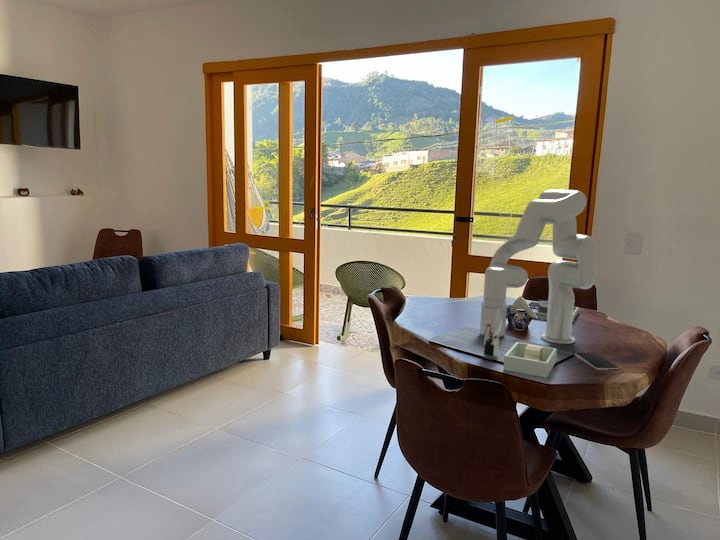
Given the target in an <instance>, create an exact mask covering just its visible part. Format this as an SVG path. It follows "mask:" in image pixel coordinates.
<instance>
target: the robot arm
mask: <svg viewBox="0 0 720 540" xmlns="http://www.w3.org/2000/svg"><path fill="white" fill-rule="evenodd" d="M538 198H539V199H533V200H531V201H529V202H528V203H527V205H526V207H525V209H524V212H523V214H522V217H521V218H520V221H519V224H518V226H517V228H516V231H515V233H514V235H512V237H511V238H509V239H508V240H506V241H505V242H504V243H503V244H502V245H501V246H500V247H498V248H497V250H495V252H494V254H493V256H492V258H491V261H490V264H489V266H488V267H487V268H485V272H484V281H483V282H484V285H483V286H484V287H483V299H482V302H483V307H485V308H484V313H483V319H482V328H481V332H480V335H481V336H484V334H485V333H486V334H485V336H484V338H485V344H484V343H483V353H484V355H488V356H493V353H494V345H493V341H494V337H498V338H499V339H500V337H499V332H500V331H501V327H502V312H503V311H502V309H504V308H505V303H507V302H506V300H507V289H508V288H509V289H510V288H512V289H518V288H521V287H523V286H525V285H526V284H527V282H528V281H529V275H528V274H529V273H528V272H527V270H526V269H524V268H523V267H521V266H517V265H512V264H507V262H508V261H509V260H510V259H511V258H512V257H513V256H515V255H516V254H518V253H520V252H523V251H526V250H528V249H531V248H534V247H536V246H538V245H537V244H538V243H539V241H540V238H541V236H542V234H543V232H544V228H545V227H546V225H552V253H553V254H554V256H556V257H558V258H562V259H569V260H561V259H560V260H555V261H553V262H551V263H550V265H549V266H548V270H547V277H548V299H547V301H548V311H547V321H546V322H545V332H543V333H541V335H540V338H541V339H542V340H543V341H546V342H549V343H553V344H558V345H568V344H569V345H570V344H573V343H575V342H576V338H575V337H574V336H573V335H572V330H573V323H572V320H573V310H574V307H575V293H574V291H573V288H576V289H580V290H588V289H591V288H592V287H593V286H594V284H595V281H596V277H597V257H598V256H597V255H598V252H597V249H598V247H597V243H596V241H595V239H594V238H593V237H592V236H590V235H587V234H580V233H579V234H578V232H577V228H578V227H577V225H578V224H577V216H578V215H580V214H581V213H582V212H583V211H584V210H585V208H586V206H587V202H588V201H587V196H586V195H585V193H583V192H582V191H581V190H574V189H568V190H567V189H547V190H544V191H542V192H541V193H540V194H539V197H538ZM570 260H576V261H577V262H575V261H570ZM492 334H493V335H492ZM490 337H491V338H492V339H490Z"/></svg>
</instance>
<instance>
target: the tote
mask: <svg viewBox="0 0 720 540" xmlns="http://www.w3.org/2000/svg"><path fill="white" fill-rule="evenodd" d="M527 345H533V346H539V347H543V352H542V361H537V360H531V359H525V358H524V349H525V347H526V346H527ZM557 353H558V349H557V348H555V347H550V346H543V345H537V344H532V343H525V342H520V341H519V342H518V341H517V342H515V343H514V344H513V346H512V347H510V348H509V350H508V351H507V352H506V353H505V354H504V357H503V371H507V372H511V373H516V374H521V375H527V376H533V377H538V378H543V379H548V377H549V375H550V373H551V371H552V370H553V368H554V366H555V364H556V362H557Z"/></svg>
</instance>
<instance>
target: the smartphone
mask: <svg viewBox="0 0 720 540" xmlns="http://www.w3.org/2000/svg"><path fill="white" fill-rule="evenodd" d="M574 356H575V357H577V358H578V359H579V360H581V361H583V362H584V363H586V364H587V365H589V366H590V367H592V368H594V369H595V370H597V371H601V370H602V371H607V370H608V369H618V370H619V367H618V366H617V365H615V364H614V363H612V362H611V361H609V360H607V359H605V358H604V357H602V356H600V355H599V354H597V353H595V352H575V354H574Z"/></svg>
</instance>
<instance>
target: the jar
mask: <svg viewBox="0 0 720 540" xmlns="http://www.w3.org/2000/svg"><path fill="white" fill-rule="evenodd" d="M507 307H508V303H507V302H506V303H505V308H504V309H502V311H503V312H502V327H501V331H500V332H499V338H502V337H504V335H505V334H506V326H507V325H506V322H507V321H506V320H507V311H508V310H507V309H508V308H507ZM484 308H485V307H483V301H482V302H481V309H480V310H481V311H480V326H479V327H480V328H479V332H480V333H481V328H482V319H483V313H484ZM485 334H486V333H485ZM485 334H484V335H483V336H484V337H485ZM492 335H493V334H492Z"/></svg>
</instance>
